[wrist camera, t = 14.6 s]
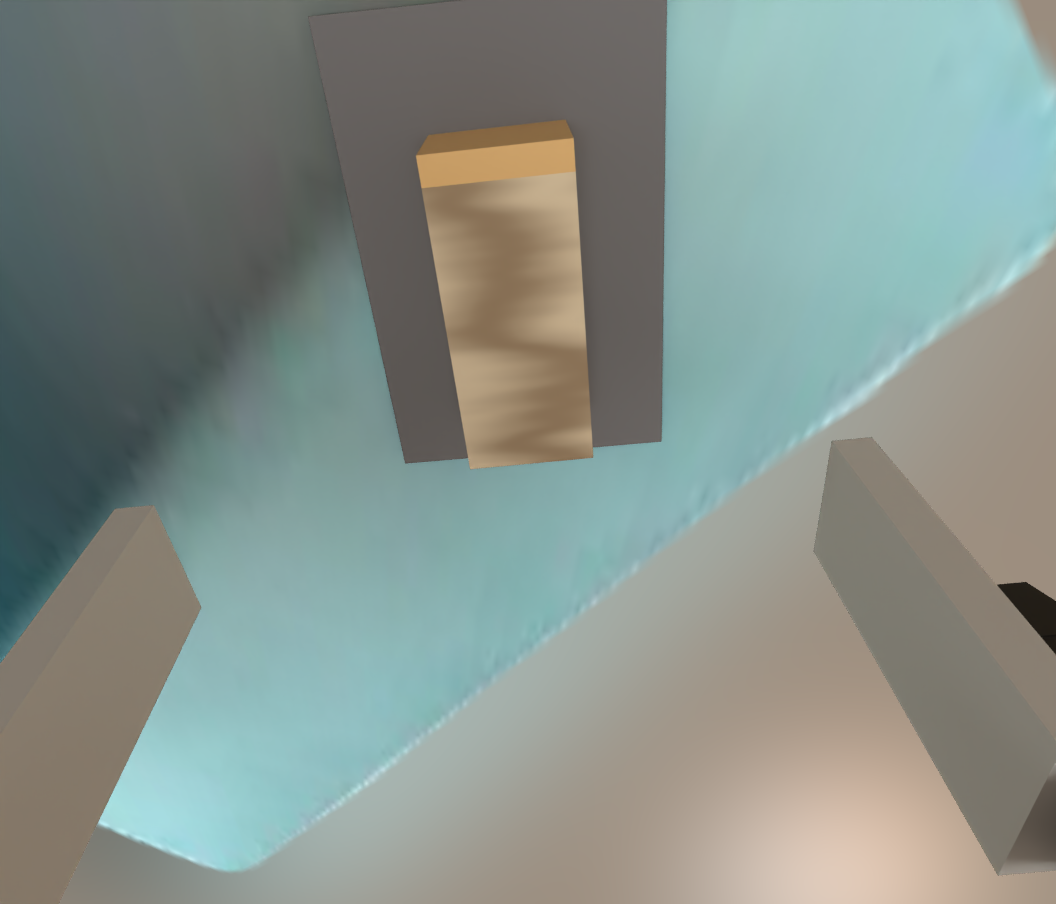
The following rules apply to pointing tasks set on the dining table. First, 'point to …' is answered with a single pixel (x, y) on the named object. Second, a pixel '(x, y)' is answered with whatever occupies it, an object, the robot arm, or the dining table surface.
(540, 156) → the maple block
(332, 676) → the dining table surface
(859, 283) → the dining table surface
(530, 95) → the rubber mat
